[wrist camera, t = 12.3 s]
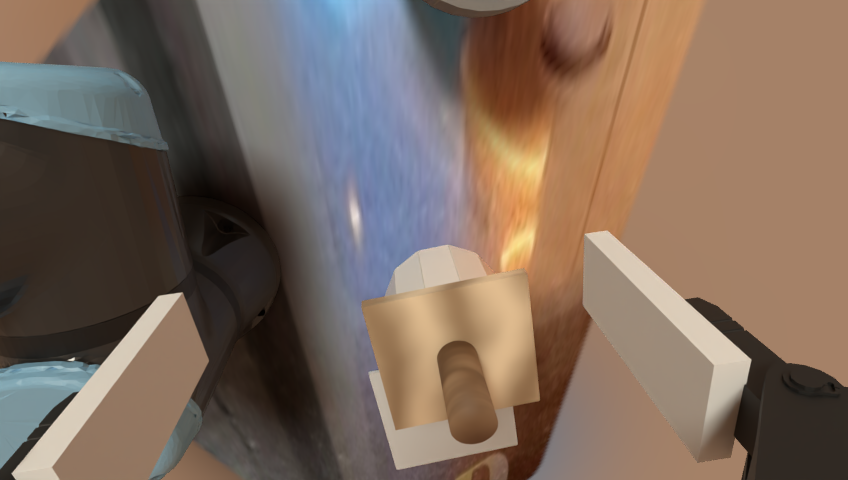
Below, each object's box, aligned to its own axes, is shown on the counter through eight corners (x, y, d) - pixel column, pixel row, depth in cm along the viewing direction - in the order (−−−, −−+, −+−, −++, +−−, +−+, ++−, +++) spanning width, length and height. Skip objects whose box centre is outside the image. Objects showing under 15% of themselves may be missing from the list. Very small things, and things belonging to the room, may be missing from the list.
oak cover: (395, 422, 46) (399, 508, 38) (361, 301, 40) (358, 371, 32) (536, 393, 46) (571, 472, 38) (524, 268, 40) (561, 329, 32)
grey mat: (396, 467, 62) (396, 470, 61) (368, 371, 55) (368, 374, 54) (517, 442, 62) (517, 444, 61) (503, 344, 55) (504, 346, 55)
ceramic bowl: (399, 351, 54) (403, 412, 45) (376, 259, 49) (376, 308, 40) (502, 330, 54) (526, 387, 46) (489, 236, 49) (513, 280, 41)
